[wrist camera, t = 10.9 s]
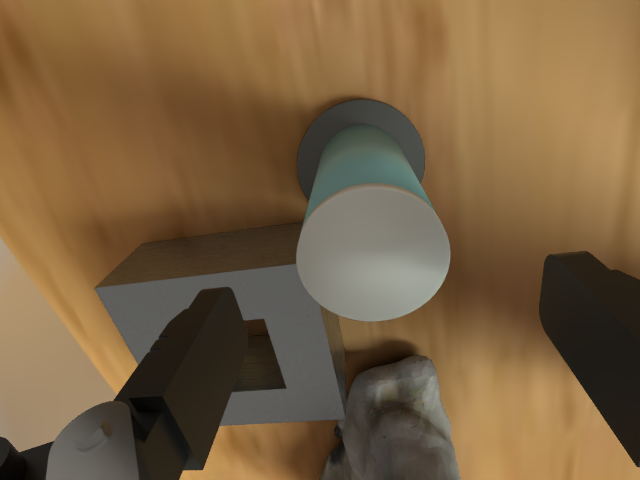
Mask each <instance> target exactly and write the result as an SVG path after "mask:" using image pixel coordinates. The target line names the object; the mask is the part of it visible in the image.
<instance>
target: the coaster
mask: <svg viewBox="0 0 640 480" xmlns="http://www.w3.org/2000/svg"><path fill="white" fill-rule="evenodd" d="M360 124H365V125H373V126H376V127H379V128H381V129H383V130H385V131H386V132H388V133H389V134H390V135H391V136H393V138H394V139H395V140H396V141H397V143H398V144H399V146H400V148H401V150H402V152H403V153H404V155H405V157H406V159H407V161H408V163H409V164H410V166H411V168H412V170H413V172H414V174H415V175H416V177H417V179H418V181H419V183H420V184H421V182H422V178H423V175H424V169H425V153H424V147H423V144H422V140H421V138H420V136H419V133H418V132H417V130H416V128H415V127H414V125H413V124H412V123H411V122H410V121H409V119H408V118H407V117H406V116H405V115H403V114H402V113H401V112H400V111H399V110H397V109H396V108H394V107H392V106H390V105H388V104H386V103H383V102H380V101H376V100H370V99H357V100H350V101H346V102H342V103H340V104H337V105H335V106H333V107H331V108H329V109H328V110H326V111H325V112H324V113H322V114H321V115H320V116H319V117H318V118H317V119H316V120H315V121H314V122H313V123H312V125H311V126H310V127H309V129H308V130H307V132H306V134H305V136H304V138H303V140H302V142H301V145H300V148H299V152H298V159H297V171H298V178H299V181H300V185H301V187H302V190H303V192H304V194H305V195H306V197H307V199H308V200H310V196H311V193H312V189H313V185H314V181H315V177H316V174H317V170H318V166H319V162H320V159H321V155H322V152H323V150H324V148H325V146H326V144H327V143H328V142H329V140H330V139H331V138H332V137H333V136H334V135H335V134H337V133H338V132H339V131H341V130H343V129H345V128H347V127H350V126H354V125H360Z"/></svg>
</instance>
